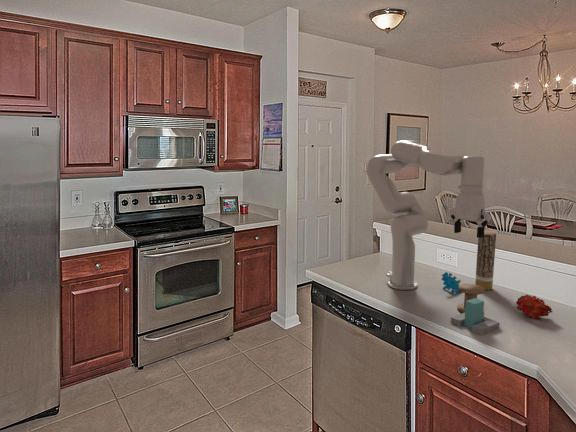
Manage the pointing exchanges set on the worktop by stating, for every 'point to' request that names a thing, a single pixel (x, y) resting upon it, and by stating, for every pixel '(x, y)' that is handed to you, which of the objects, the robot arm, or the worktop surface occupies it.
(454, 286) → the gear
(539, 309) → the dragon fruit
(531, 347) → the worktop surface
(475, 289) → the door knob
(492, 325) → the notched board
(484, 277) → the paper tube
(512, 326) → the worktop surface
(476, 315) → the teal tab
